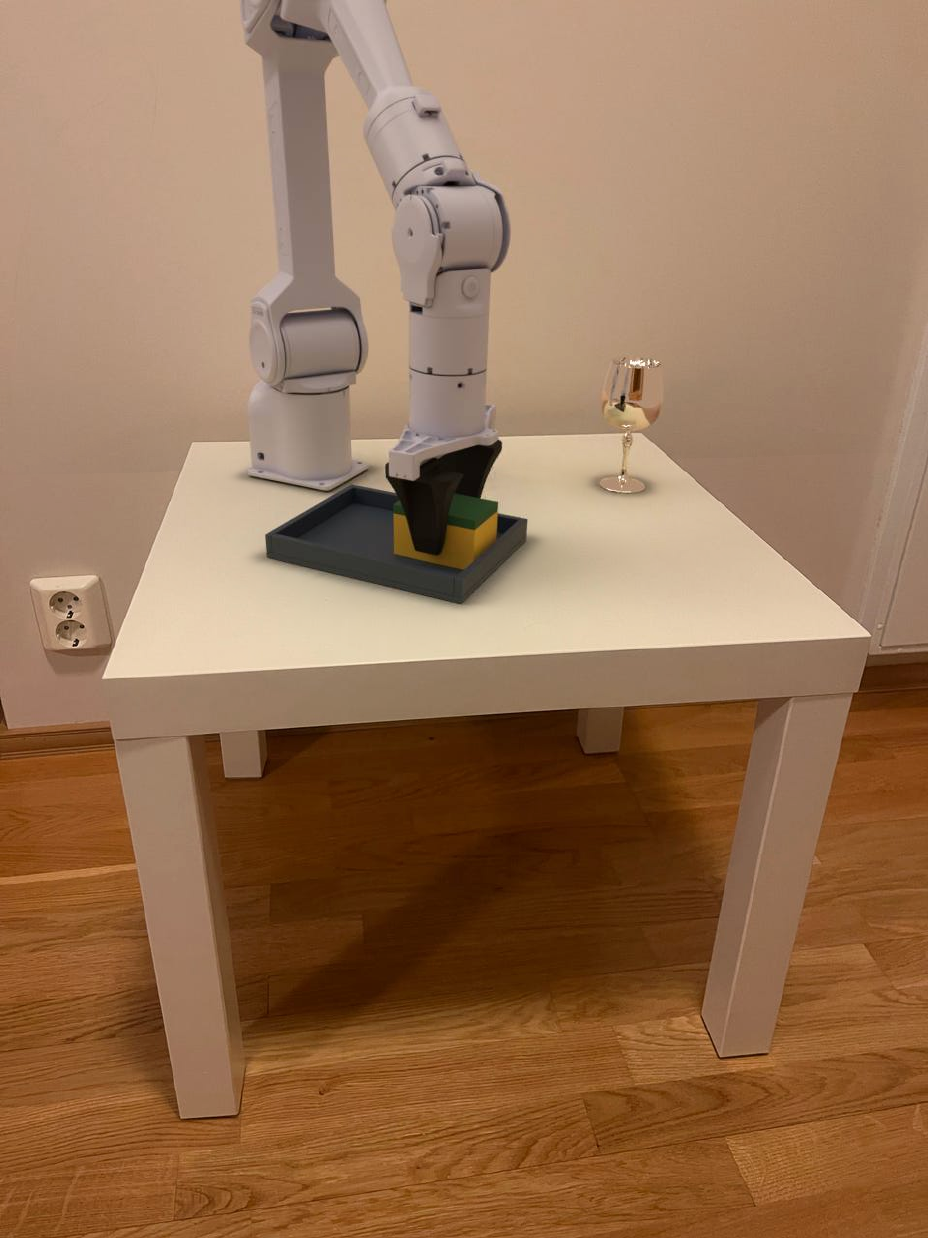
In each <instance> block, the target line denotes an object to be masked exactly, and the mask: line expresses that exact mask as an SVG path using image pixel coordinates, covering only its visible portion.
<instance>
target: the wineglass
mask: <svg viewBox="0 0 928 1238" xmlns="http://www.w3.org/2000/svg"><path fill="white" fill-rule="evenodd" d="M664 382H665V381H664V370H663V364H662V362H660V361H658V360H656V359H652V358H646V357H637V356H623V357H616V358H613V359H611V361H610V364H609V366H608V369H607V372H606V376H605V379H604V383H603V387H602V391H601V399H600V400H601V411H602V414H603V416H604V418H605V420H606V421H607V422H608V423H609V424H610V425H612V426H613V427H615V428H617V429H619V430H622V431H625V432H624V434H623V436H622V438H621V445H622V454H623V455H622V463H621V469H620V472H619V474H618V475H617V476H609V477H608V476H607V477H605V478H602V479H601V480H600V481H599V486H600V487H601V488H603V489H604V490H606V491H609V492H615V493H619V494H635V493H639V492H642V491H644V490H645V488H646V486H645V484H644V483H643V481H640V480H639V479H636V478H632V477H629V475H628V472H627V468H628V458H629V452H630V450H631V447H632V445H633V442H634V440H633V434H632V432H635V431H640V430H644V429H646V428H648V427H650V426H651V425H653V424H654V423H656V421H657V420H658V418H659V417H660V415H661V412H662V409H663V405H664V397H665V395H664V394H665V383H664Z"/></svg>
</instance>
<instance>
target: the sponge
mask: <svg viewBox="0 0 928 1238" xmlns="http://www.w3.org/2000/svg"><path fill="white" fill-rule="evenodd" d="M498 511H499V501H496V500H491V499H486V498H482V497H481V498H476V497H470V496H465V495H460V494H454V496H453V499H452V502H451V506H450V510H449V515H448V522H447V530H446V537H445V542H444V546H443V549H442V552H441V553H440V554H439V555H437V556H436V555H431V554H427V553H422V552H417V551H415V549H414V546H413V542H412V539H411V535H410V531H409V527H408V523H407V520H406V516H405V513H404V510H403V508H402V505H401V503H400V500H399V501H398V502H396V503H395V504H394V554H396V555H400V556H405V557H409V558H413V559H418V560H422V561H427V562H431V563H436V564H440V565H445V566H449V567H453V568H458V569H462V570H464V569H465V568H466V567H468V566H469V565H470V564H471V563H472V562H473V561H474V560H475V559H476V558H477V557H479V556H480V555H481V554H482V553H483V552H484V551H485V550H486V549H487V548H489V547H490V546H491V545H492V544H493V543H494V542H495V541H496V535H497V515H498Z"/></svg>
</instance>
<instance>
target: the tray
mask: <svg viewBox="0 0 928 1238" xmlns="http://www.w3.org/2000/svg"><path fill="white" fill-rule="evenodd" d="M398 501H399V498H398V496H397V494H396V492H393V491H388V490H382V489H377V488H373V487H368V486H363V485H357V484H348V486H346V487H344V488H342V489H341V490H339V491H337V492H335V493H334V494H332V495H330V496H328V497H327V498H325V499H324V500H322V501H320V502H318V503H316V504H315V505H313V506H311V507H310V508H308V509H307V510H305V511H303V512H301V513H300V514H298V515H296V516H294V517H293V518H291V519H289V520H288V521H286V522H283V523H282V524H281V525H279V526H277V527H275V528H274V529H272V530H271V531H269V532H267V533H265V534H264V537H265V538H264V539H265V540H264V541H265V550H266V552H265V554H266V558H268V559H272V560H276V561H281V562H285V563H288V564H294V565H298V566H302V567H306V568H310V569H314V570H319V571H323V572H327V573H331V574H336V575H338V576H339V575H340V576H343V577H348V578H351V579H356V580H360V581H365V582H368V583H373V584H377V585H381V586H385V587H389V588H393V589H398V590H402V591H407V592H412V593H414V594H418V595H423V596H427V597H431V598H434V599H440V600H444V601H448V602H452V603H456V604H461V605H462V604H463V602H464V601H465V600H467V599H468V598H469V597H470V596H471V595H472V594H473V593H474V592H475V591H476V590H477V589H478V588H479V587H481V585H482V584H483V583H484V582H485V581H486V580H487V579H488V578H490V576H491V575H492V574H493V573H495V571H496V570H497V569H499V568H500V567H501V566H502V565H503V564H504V563H505V562H506V561H507V560H508V559H509V558H510V557H511V556H512V555H513V554H514V553H515V552H516V551H517V550H518V549H519V548H520V547H521V546H523V545H524V543H526V541H527V533H528V518H524V517H521V516H514V515H509V514H504V513H498V515H497V535H496V541H495V542H494V543H493V544H492V545H491V546H490V547H489V548H487V549H486V550H485V551H484V552H483V553H482V554H481V555H480V556H479V557H477V558H476V559H475V560H474V561H473V562H472V563H471V564H470V565H469V566H468V567H466V568H465V569H464V570H462V569H458V568H453V567H449V566H445V565H440V564H436V563H431V562H427V561H422V560H418V559H413V558H409V557H405V556H400V555H396V554H394V504H395V503H396V502H398Z"/></svg>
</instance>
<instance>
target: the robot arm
mask: <svg viewBox="0 0 928 1238" xmlns="http://www.w3.org/2000/svg"><path fill="white" fill-rule="evenodd" d="M387 2H388V0H239V8H240V9H239V10H240V20H241V26H242V29H243V39H244V40H243V41H244V43H245V45H246V46H247V47H249V48H250V49H252V50H253V51H254V52H255V53H257V54H258V55H259V56H260V57H261V67H262V79H263V91H264V103H265V115H266V116H265V117H266V127H267V141H268V152H269V154H268V155H269V166H270V178H271V190H272V201H273V202H272V203H273V215H274V226H275V227H274V228H275V229H274V230H275V241H276V253H277V263H278V272H277V273H276V275H275V276H274V277H273V278H272V279H271V280H269V282H268V283H267V284H265V285H264V286H263V287H262V288H261V289H260V290H259V291H258V292H256V293H255V294H254V296H253V297H252V298H251V301H250V302H251V304H250V328H249V333H248V346H249V353H250V359H251V362H252V366H253V368H254V370H255V372H256V374H257V375H258V377H259V378H260V379H261V380H259V381H258V382H257V383H256V384H255V385H254V386H253V387H252V389H251V391H250V395H249V398H248V402H247V424H248V434H249V446H250V447H249V448H250V459H251V468H249V469H247V470H246V471H247V475H248V476H252V477H256V478H261V479H266V480H270V481H275V482H276V481H277V482H280V483H285V484H291V485H296V486H301V487H306V488H311V489H316V490H320V491H325V492H326V491H331V490H333V489H335V488H337V487H338V486H340V485H342V484H344V483H346V482H347V481H349V480H350V479H352V478H354V477H355V476H358V475H359V474H361V473H362V472H364V471H366V470H368V469H369V468H370V463H368V462H365V461H359V460H355V459H353V457H352V454H353V453H352V427H351V426H352V424H351V423H352V422H351V393H350V392H351V391H350V388H351V387H350V386H352V385H356V384H357V376H358V375H359V374H360V373H362V371H363V369H364V368H365V365H366V363H367V360H368V357H369V338H368V337H369V336H368V332H367V328H366V326H365V323H364V319H363V313H362V304H361V298H360V296H359V295H358V293H356V292H355V291H354V289H352V288H350V287H349V285H348V284H345V282H344V281H342V280H341V279H339V278H338V277H337V275H336V266H335V264H336V263H335V247H334V229H333V209H332V192H331V174H330V172H331V171H330V156H329V154H330V153H329V136H328V120H327V119H328V117H327V116H328V115H327V99H326V98H327V97H326V81H325V75H326V72H327V69H328V68H329V66H330V64H331V63H332V61H333V59H335V58H339V57H340V59H341V61H342V62H343V64H344V66H345V68H346V70H347V72H348V74H349V76H350V77H351V79H352V81H353V83H354V84H355V87H356V89H357V90H358V92H359V94H360V96H361V97H362V100H363V101H364V103H365V105H366V107H367V109H368V113H367V115H366V116H365V120H364V122H363V128H362V133H363V138H364V141H365V144H366V146H367V148H368V151H369V153H370V155H371V158H372V160H373V162H374V164H375V166H376V169H377V172H378V173H379V175H380V178H381V179H382V182H383V186H384V187H385V190H386V192H387V194H388V196H389V198H390V201H391V203H392V205H393V208H394V211H395V215H394V222H393V226H392V227H391V228H390V229H391V243H392V248H393V252H394V256H395V259H396V261H397V265H398V268H399V272H400V291H401V292H402V298H403V300H404V301H407V302H408V422H407V423H406V425H405V427H404V429H403V431H402V433H401V435H400V437H399V439H398V442H397V443H396V444H395V446H394V447H393V446H392V448H390V449H389V450H388V462H386V463H385V466H384V474H385V478H386V480H387V481H388V483H389V484H390V486H391V487H392V489H393V491H394V493H396V494H397V496H398V498H399V500H400V503H401V505H402V508H403V510H404V513H405V516H406V520H407V523H408V527H409V531H410V535H411V539H412V542H413V546H414V549H415V551H417V552H422V553H427V554H431V555H436V556H437V555H439V554H440V553H441V552H442V549H443V546H444V542H445V537H446V530H447V522H448V515H449V510H450V506H451V502H452V499H453V496H454V494H460V495H465V496H470V497H476V498H481V499H482V495H483V492H484V488H485V485H486V482H487V480H488V477H489V475H490V472H491V470H492V468H493V466H494V464H495V462H496V460H497V459H498V457H499V455H500V454H501V453H502V450H503V441H502V440H500V437H499V436H500V431H499V430H497V429H496V418H497V417H496V412H497V405H494V404H487V403H486V402H487V401H486V400H487V399H486V397H487V378H488V377H487V375H488V354H489V353H488V352H489V329H490V327H489V325H490V305H491V304H490V303H491V281H492V279H491V278H492V273H494V272H496V271H497V270H499V269H500V267H501V266H502V265H503V263H504V262H505V260H506V258H507V256H508V252H509V250H510V244H511V243H510V242H511V236H512V235H511V234H512V233H511V230H512V229H511V228H512V227H511V218H510V214H509V210H508V207H507V205H506V200H505V196H504V194H503V192H502V191H501V190H500V188H499V187H497V186H496V185H495V184H493V183H491V182H487V181H485V180H483V178H482V176H481V174H480V173H477V172H472V171H471V170H470V168H469V166H468V164H467V162H466V160H465V158H464V155H463V153H462V151H461V149H460V146H459V144H458V142H457V140H456V138H455V136H454V133H453V131H452V129H451V127H450V124H449V122H448V121H447V120H448V119H447V118H446V115H445V113H444V110H443V109H442V106H441V105H440V102H439V100H438V99H437V96H436V95H435V94H434V93H433V92H431V91H430V90H428V89H426V88H424V87H420V86H415V85H414V82H413V79H412V77H411V73H410V71H409V68H408V66H407V65H408V64H407V63H406V59H405V57H404V54H403V50H402V48H401V45H400V42H399V39H398V37H397V33H396V30H395V28H394V25H393V22H392V18H391V15H390V14H389V11H388V7H387ZM317 309H319V310H317ZM304 310H307V311H304ZM295 311H296V312H295Z"/></svg>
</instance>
